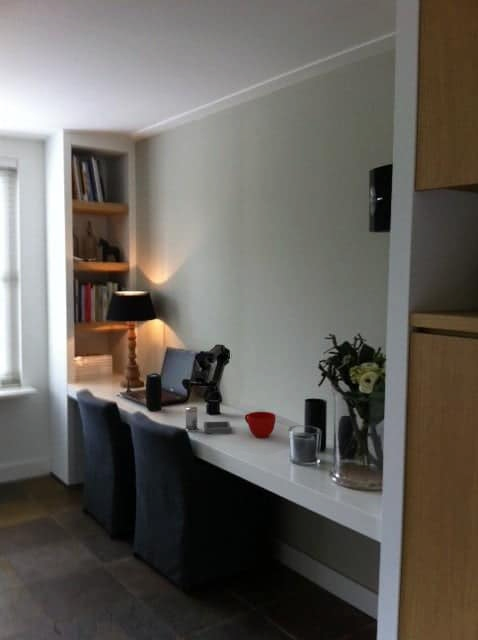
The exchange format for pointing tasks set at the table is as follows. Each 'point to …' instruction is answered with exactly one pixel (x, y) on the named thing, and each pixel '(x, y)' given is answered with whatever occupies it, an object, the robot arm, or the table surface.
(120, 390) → the table surface
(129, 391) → the eiffel tower figurine
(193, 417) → the grey cylinder
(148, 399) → the portable speaker
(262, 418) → the ceramic cup
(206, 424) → the duct collar
